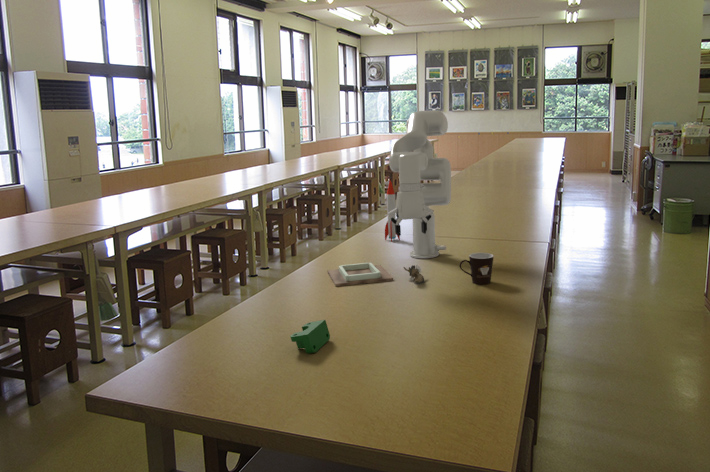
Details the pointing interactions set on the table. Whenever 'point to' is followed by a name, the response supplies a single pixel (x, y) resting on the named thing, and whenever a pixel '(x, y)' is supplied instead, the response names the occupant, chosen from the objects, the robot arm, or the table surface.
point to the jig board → (359, 274)
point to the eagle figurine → (415, 274)
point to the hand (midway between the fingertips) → (411, 234)
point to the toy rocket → (390, 206)
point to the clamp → (312, 336)
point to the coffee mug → (480, 267)
